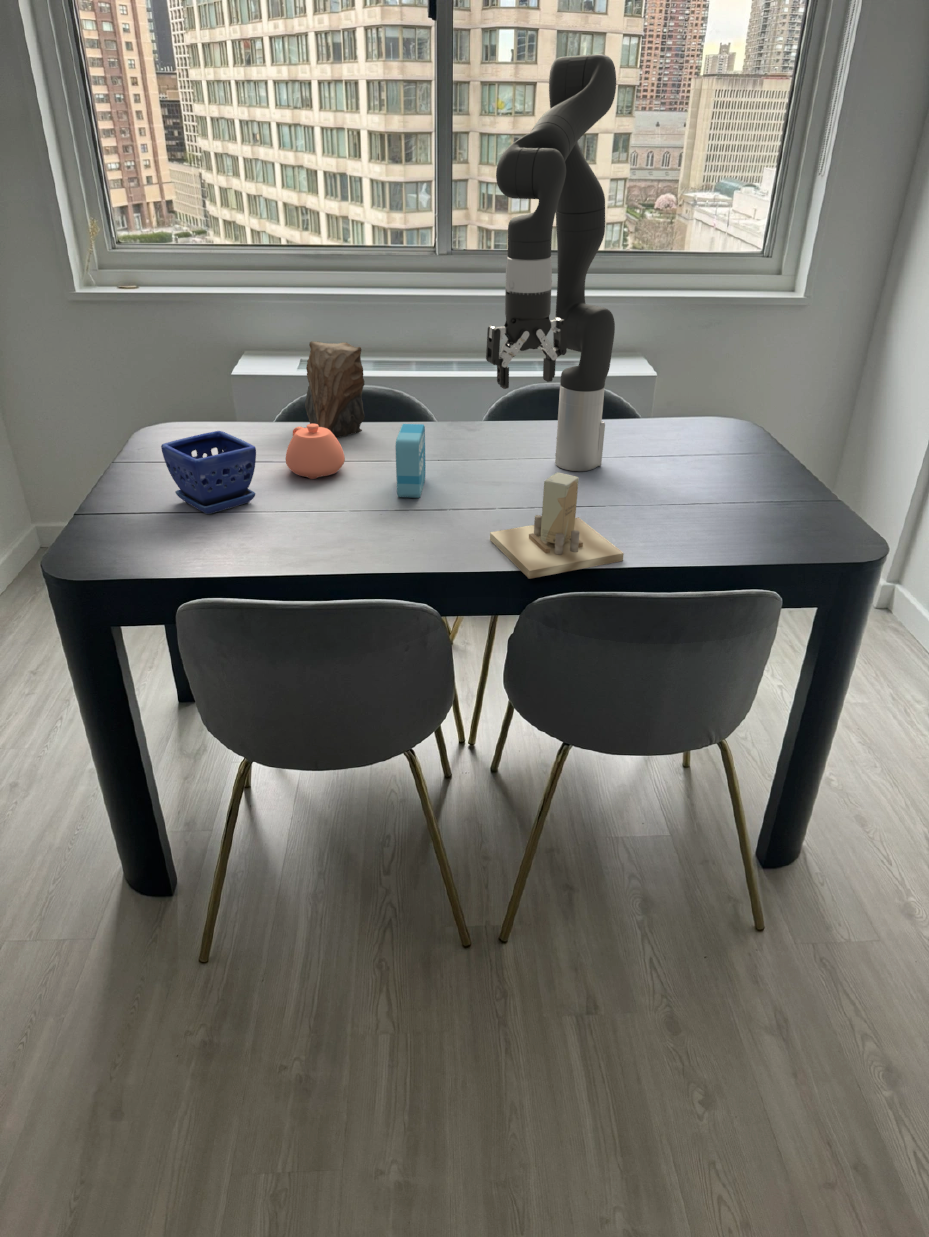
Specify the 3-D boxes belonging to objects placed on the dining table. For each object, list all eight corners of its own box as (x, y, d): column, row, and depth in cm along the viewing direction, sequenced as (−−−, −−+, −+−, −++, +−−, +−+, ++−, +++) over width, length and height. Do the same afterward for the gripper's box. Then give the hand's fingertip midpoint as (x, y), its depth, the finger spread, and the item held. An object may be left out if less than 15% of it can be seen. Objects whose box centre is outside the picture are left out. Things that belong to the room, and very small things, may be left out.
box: (561, 546, 151) (565, 485, 145) (539, 540, 153) (542, 480, 147) (574, 535, 155) (579, 476, 149) (553, 529, 156) (557, 471, 151)
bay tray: (577, 524, 164) (579, 499, 161) (622, 560, 151) (625, 534, 149) (489, 539, 158) (490, 514, 155) (529, 578, 145) (530, 551, 143)
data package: (419, 500, 173) (418, 442, 167) (396, 499, 173) (395, 441, 167) (425, 478, 184) (424, 422, 177) (404, 477, 184) (402, 421, 178)
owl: (305, 425, 212) (297, 341, 202) (355, 419, 217) (350, 336, 206) (319, 441, 202) (312, 353, 192) (371, 434, 207) (367, 348, 197)
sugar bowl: (307, 487, 179) (303, 439, 173) (271, 468, 188) (266, 421, 182) (356, 473, 186) (354, 426, 180) (320, 455, 195) (316, 410, 189)
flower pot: (227, 484, 179) (220, 428, 173) (264, 503, 171) (257, 444, 165) (168, 502, 171) (158, 443, 165) (203, 522, 163) (194, 461, 157)
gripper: (555, 278, 149) (551, 373, 157) (479, 286, 144) (479, 384, 152) (577, 286, 143) (572, 384, 152) (499, 295, 138) (498, 396, 147)
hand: (525, 384), depth 152 cm, fingers open, 8 cm apart
